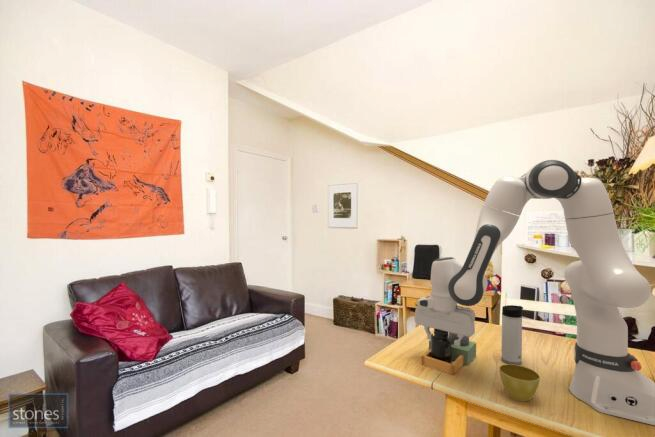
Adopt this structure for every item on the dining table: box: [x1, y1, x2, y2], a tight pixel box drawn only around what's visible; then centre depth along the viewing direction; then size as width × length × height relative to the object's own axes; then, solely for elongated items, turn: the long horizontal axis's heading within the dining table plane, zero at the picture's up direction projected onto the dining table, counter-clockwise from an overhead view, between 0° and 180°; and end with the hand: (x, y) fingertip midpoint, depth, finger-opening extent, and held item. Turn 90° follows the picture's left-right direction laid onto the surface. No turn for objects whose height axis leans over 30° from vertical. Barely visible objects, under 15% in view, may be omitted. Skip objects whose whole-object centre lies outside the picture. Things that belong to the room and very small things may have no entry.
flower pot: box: [498, 363, 541, 402], centre depth 91 cm, size 10×10×7 cm
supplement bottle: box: [431, 328, 452, 364], centre depth 111 cm, size 7×7×12 cm
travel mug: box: [500, 304, 524, 366], centre depth 113 cm, size 6×7×20 cm
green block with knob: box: [428, 332, 477, 366], centre depth 118 cm, size 14×10×10 cm
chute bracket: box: [421, 349, 464, 376], centre depth 110 cm, size 11×10×3 cm
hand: (443, 342), depth 111 cm, fingers open, 8 cm apart
